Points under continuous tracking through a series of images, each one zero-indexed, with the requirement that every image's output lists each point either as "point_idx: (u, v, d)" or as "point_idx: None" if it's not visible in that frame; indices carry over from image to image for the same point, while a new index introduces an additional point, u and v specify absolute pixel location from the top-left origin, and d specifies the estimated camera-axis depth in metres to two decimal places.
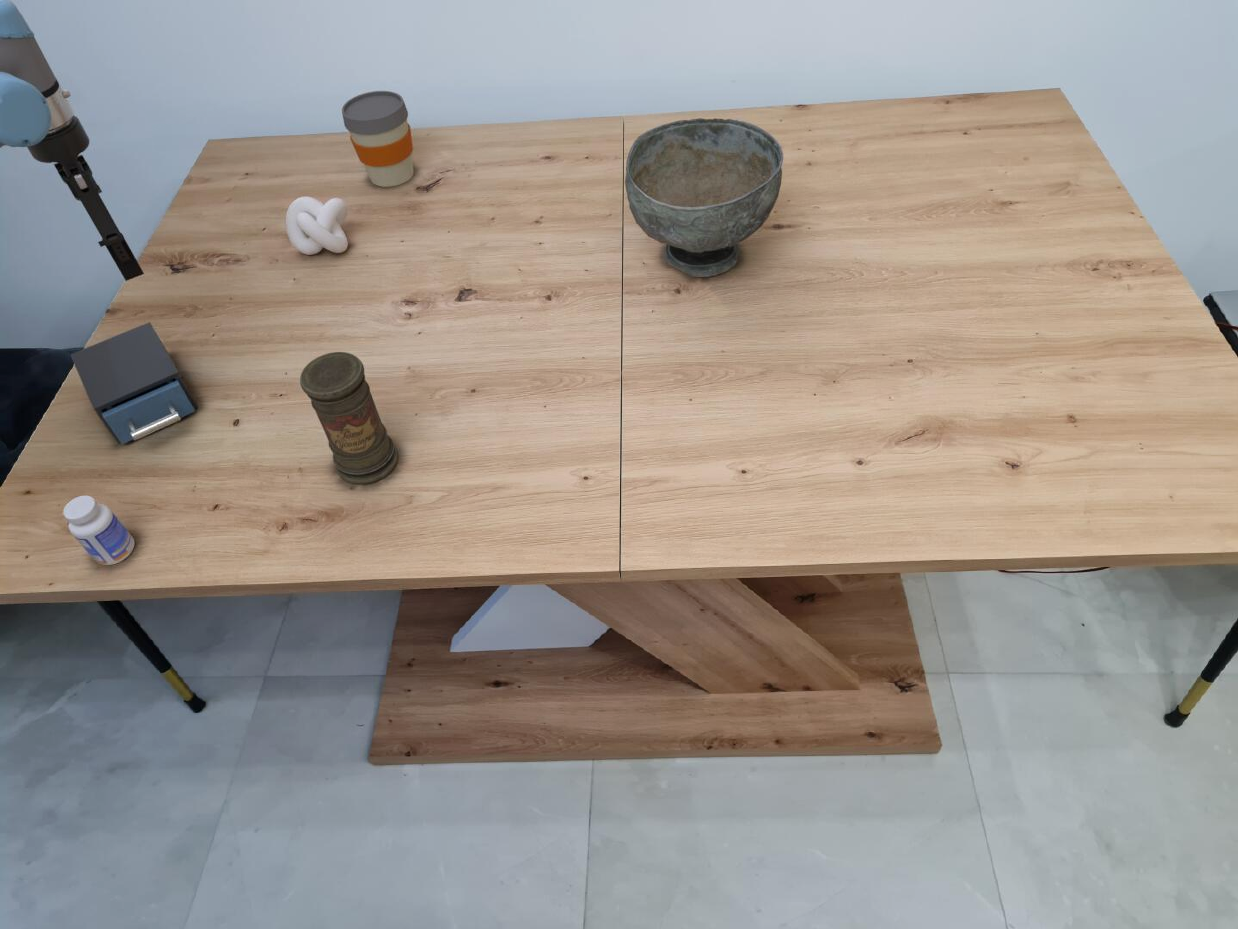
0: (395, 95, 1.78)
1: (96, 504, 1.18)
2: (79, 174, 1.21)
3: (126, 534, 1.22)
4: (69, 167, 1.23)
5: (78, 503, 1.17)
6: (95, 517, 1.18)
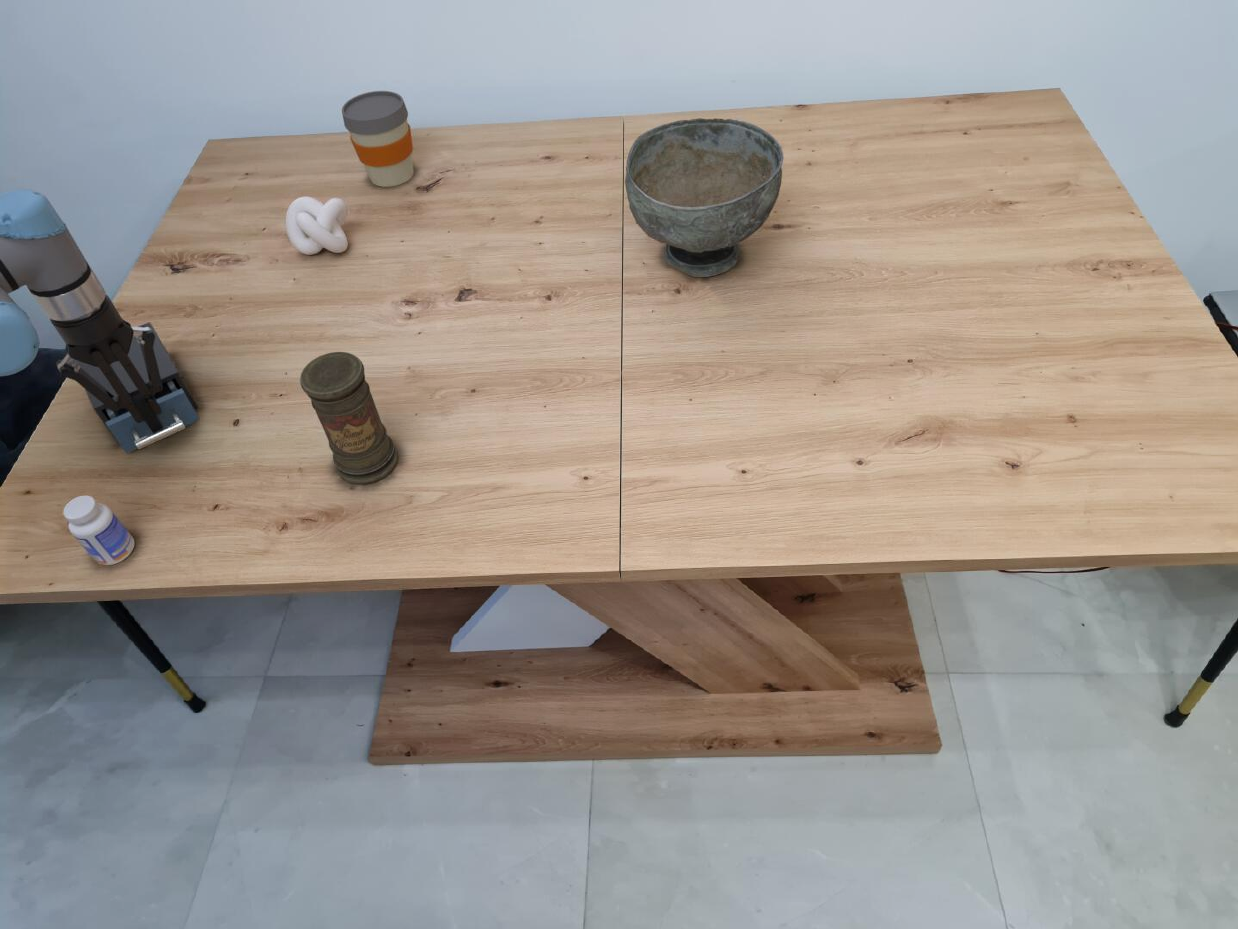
0: (395, 95, 1.78)
1: (96, 504, 1.18)
2: (150, 328, 1.25)
3: (126, 534, 1.22)
4: (124, 324, 1.22)
5: (78, 503, 1.17)
6: (95, 517, 1.18)
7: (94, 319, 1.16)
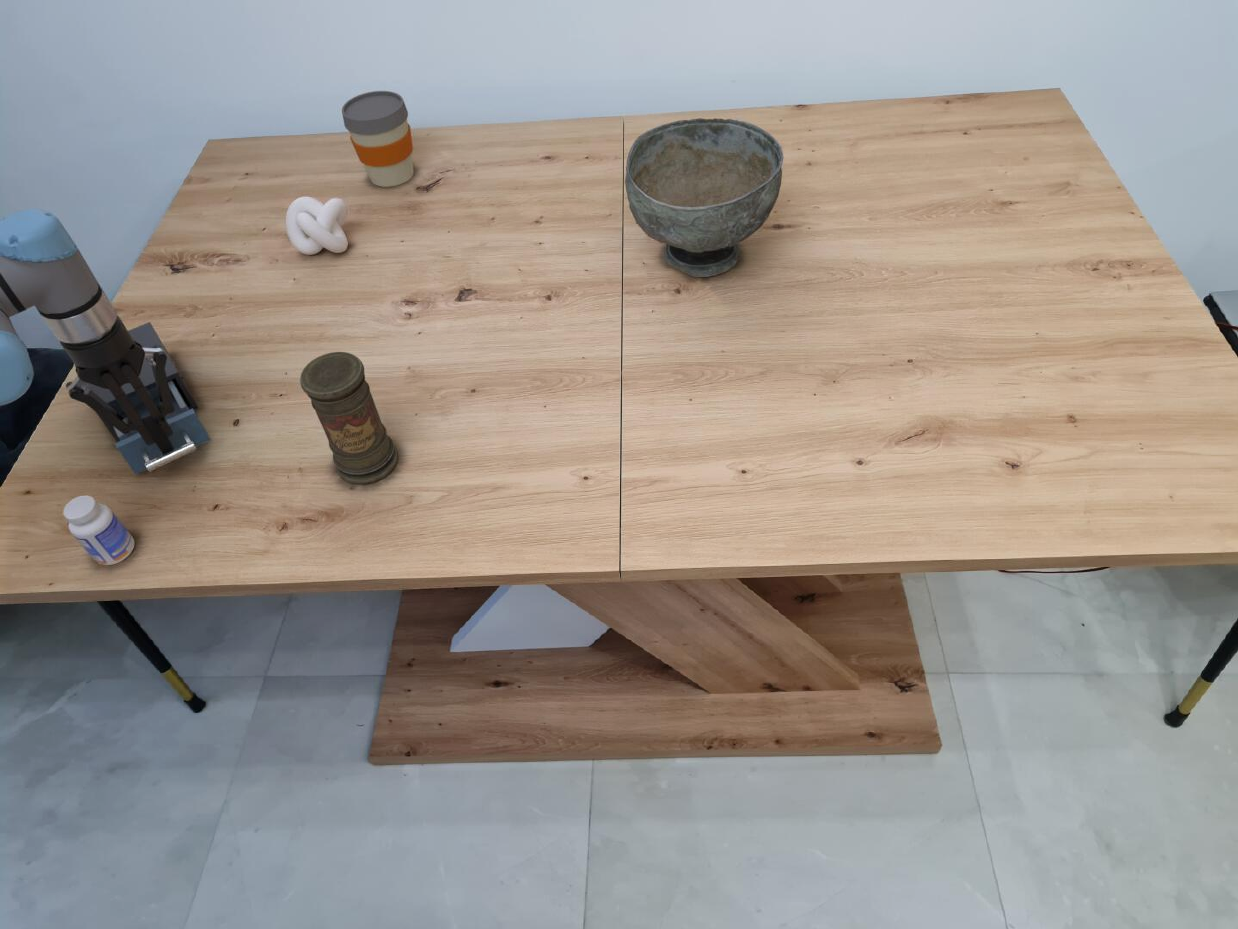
0: (395, 95, 1.78)
1: (96, 504, 1.18)
2: (161, 349, 1.22)
3: (126, 534, 1.22)
4: (136, 345, 1.19)
5: (78, 503, 1.17)
6: (95, 517, 1.18)
7: (105, 341, 1.13)
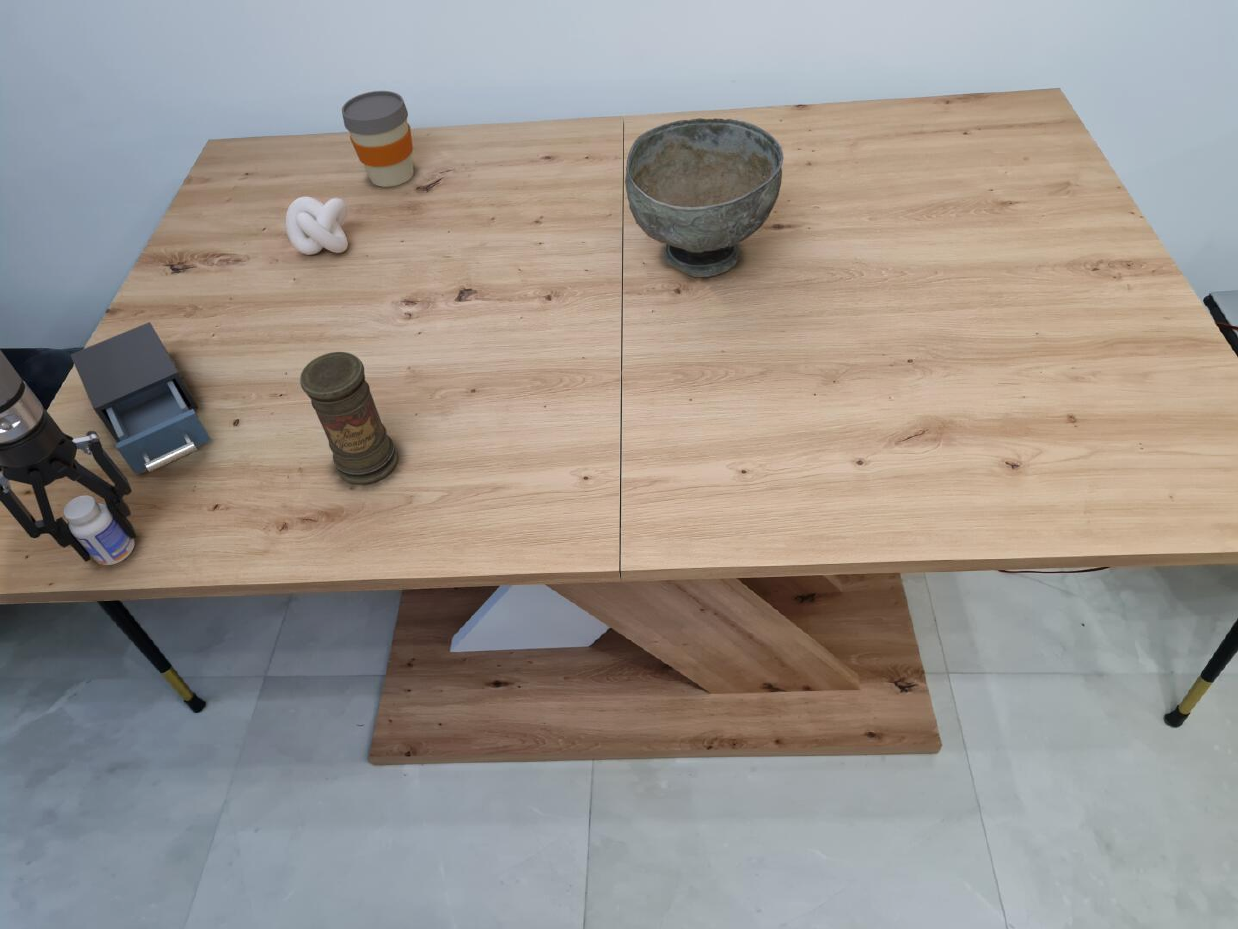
0: (395, 95, 1.78)
1: (96, 504, 1.18)
2: None
3: (126, 534, 1.22)
4: None
5: (78, 503, 1.17)
6: (95, 517, 1.18)
7: None
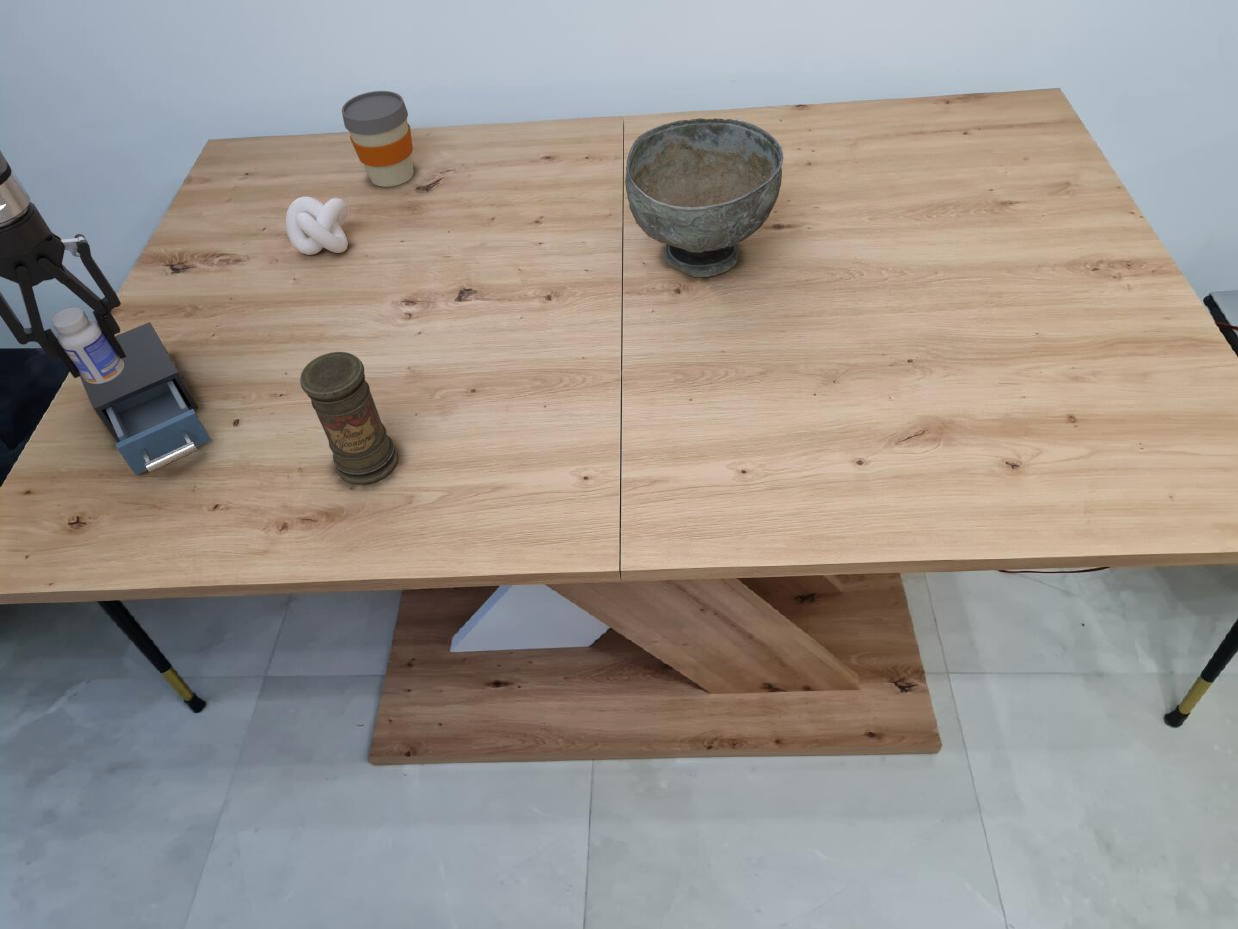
0: (395, 95, 1.78)
1: (85, 315, 1.17)
2: None
3: (115, 353, 1.22)
4: None
5: (67, 314, 1.17)
6: (84, 328, 1.17)
7: None
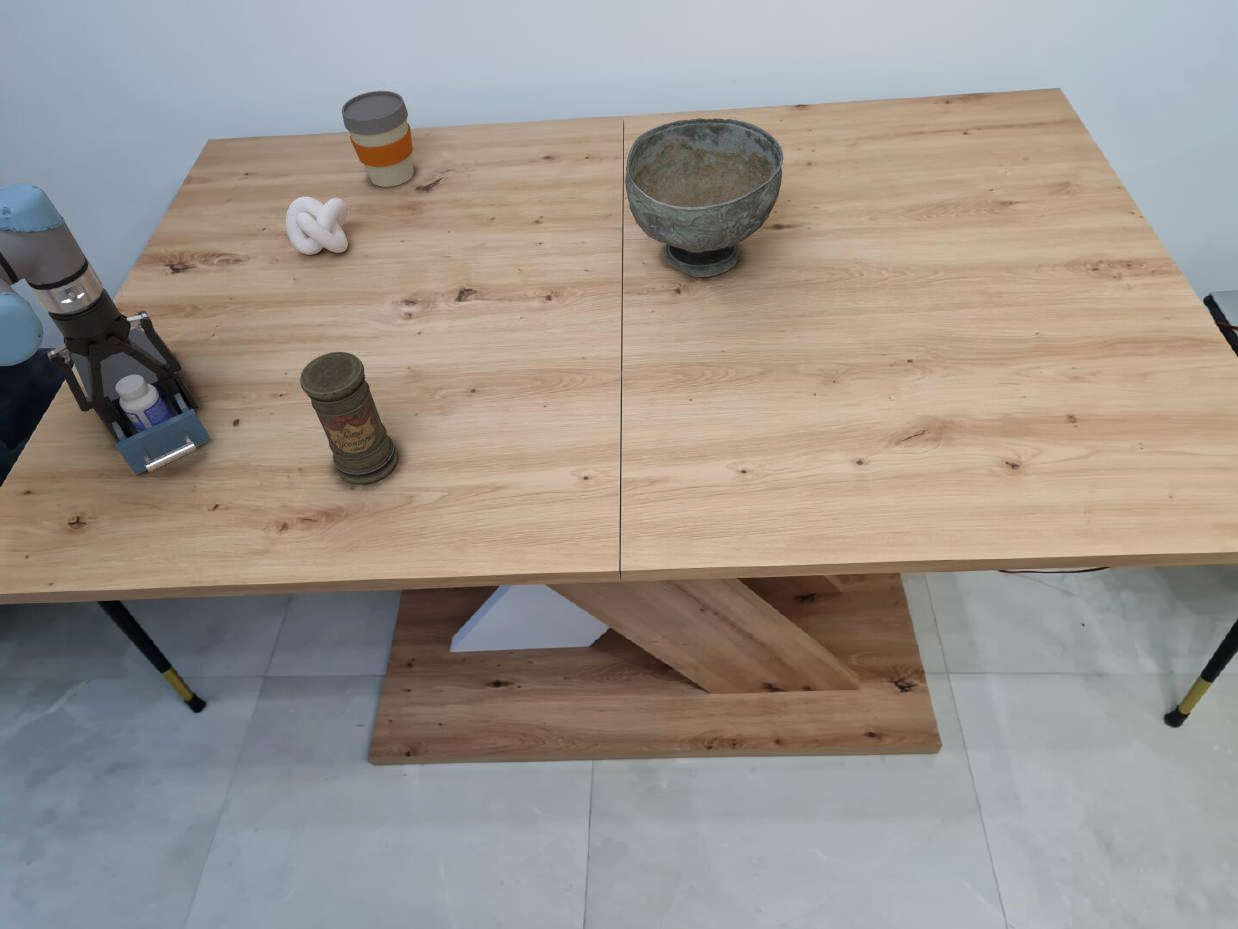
0: (395, 95, 1.78)
1: (145, 382, 1.30)
2: (49, 356, 1.21)
3: (170, 413, 1.35)
4: (65, 337, 1.21)
5: (129, 381, 1.30)
6: (144, 393, 1.30)
7: None
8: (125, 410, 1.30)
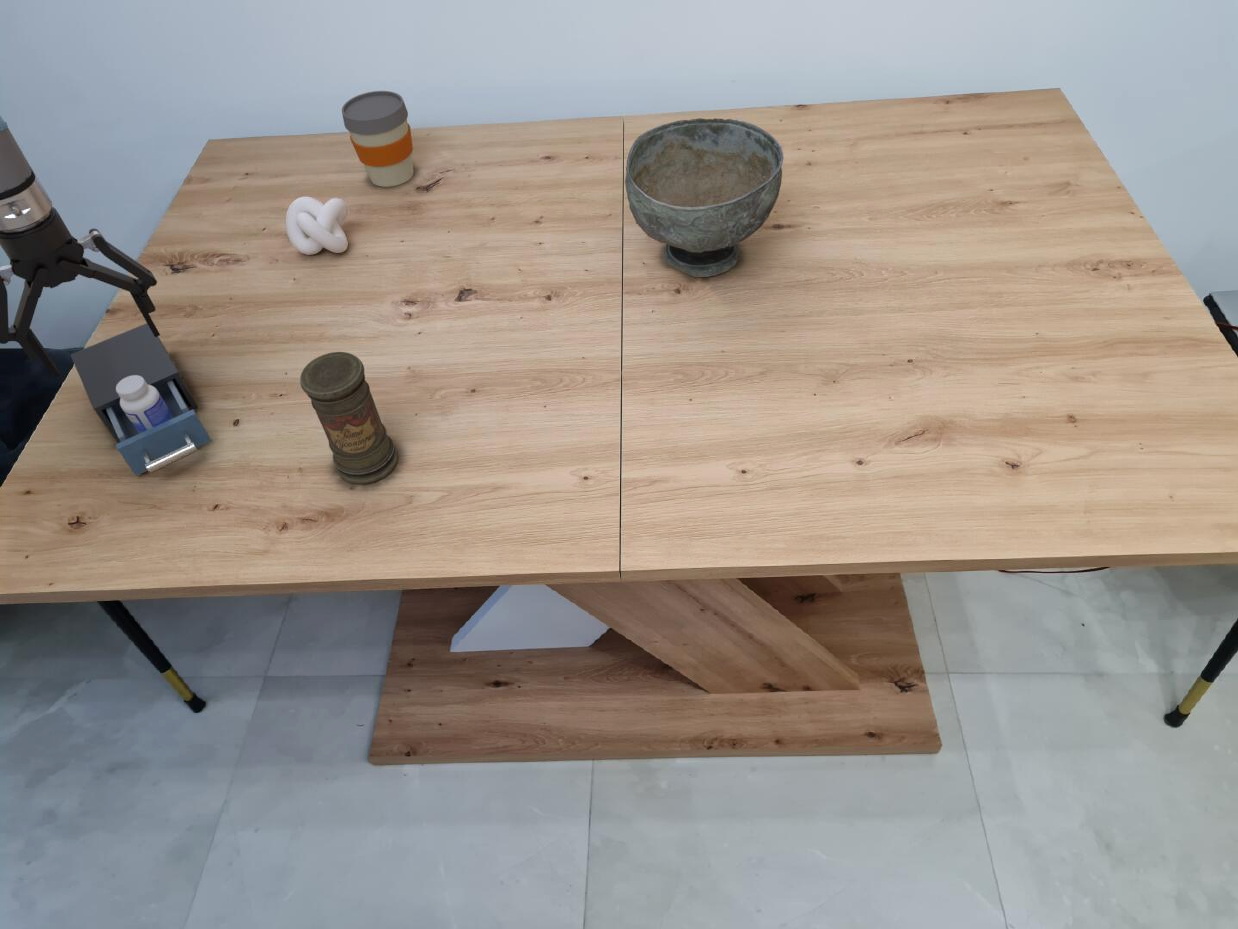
0: (395, 95, 1.78)
1: (145, 382, 1.30)
2: None
3: (170, 414, 1.35)
4: None
5: (129, 381, 1.30)
6: (144, 394, 1.30)
7: None
8: (125, 411, 1.30)
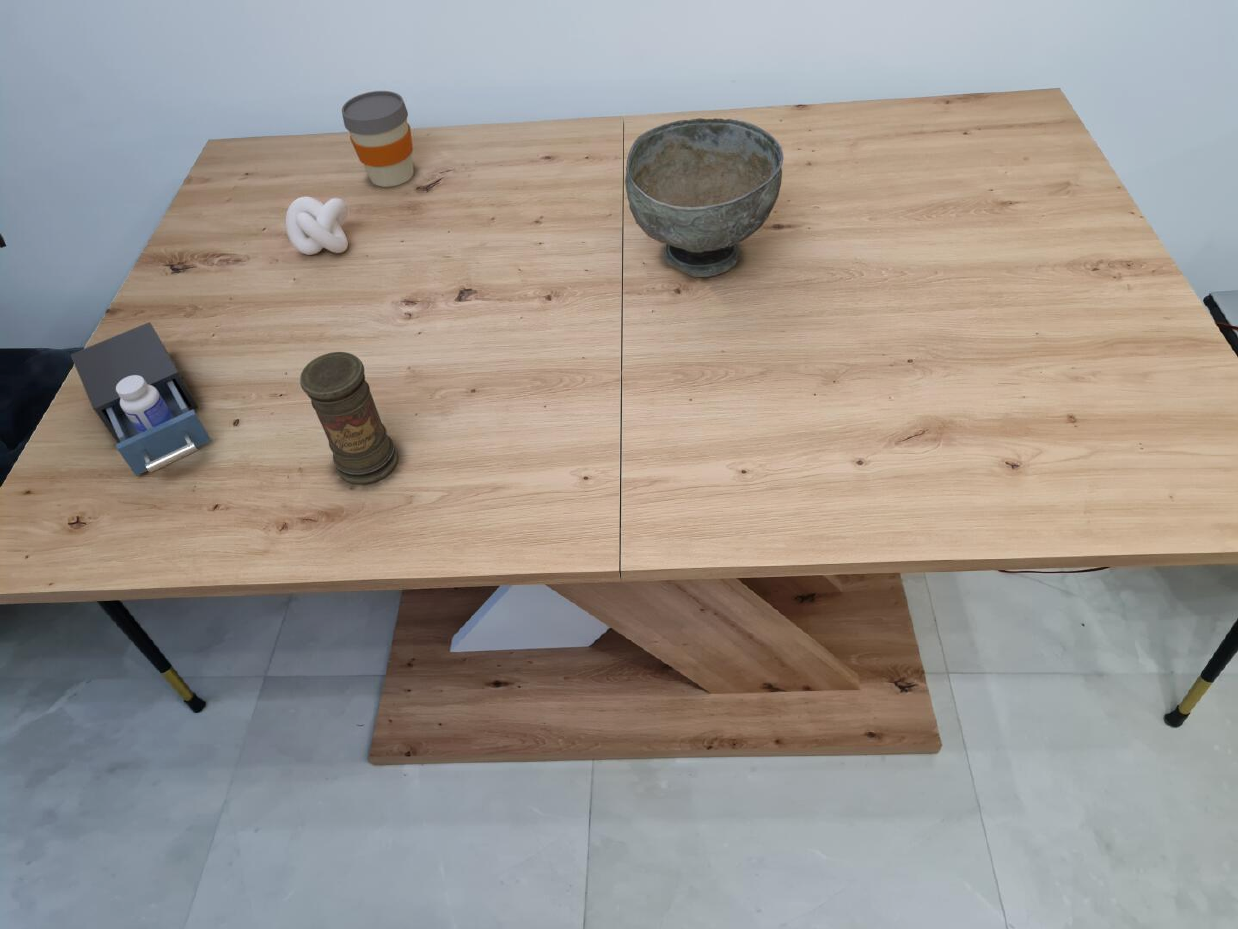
0: (395, 95, 1.78)
1: (145, 382, 1.30)
2: None
3: (170, 414, 1.35)
4: None
5: (129, 381, 1.30)
6: (144, 394, 1.30)
7: None
8: (125, 411, 1.30)
